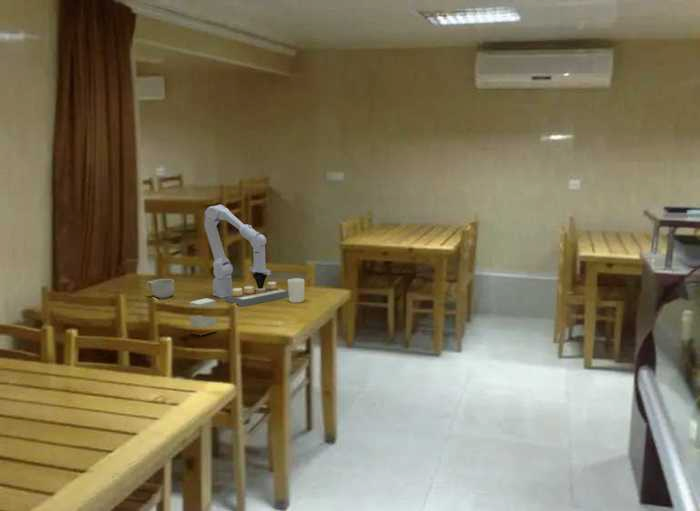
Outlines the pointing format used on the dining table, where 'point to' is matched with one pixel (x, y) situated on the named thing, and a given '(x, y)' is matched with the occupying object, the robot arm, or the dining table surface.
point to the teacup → (161, 287)
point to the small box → (200, 320)
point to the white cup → (296, 290)
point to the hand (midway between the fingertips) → (260, 288)
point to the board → (257, 297)
